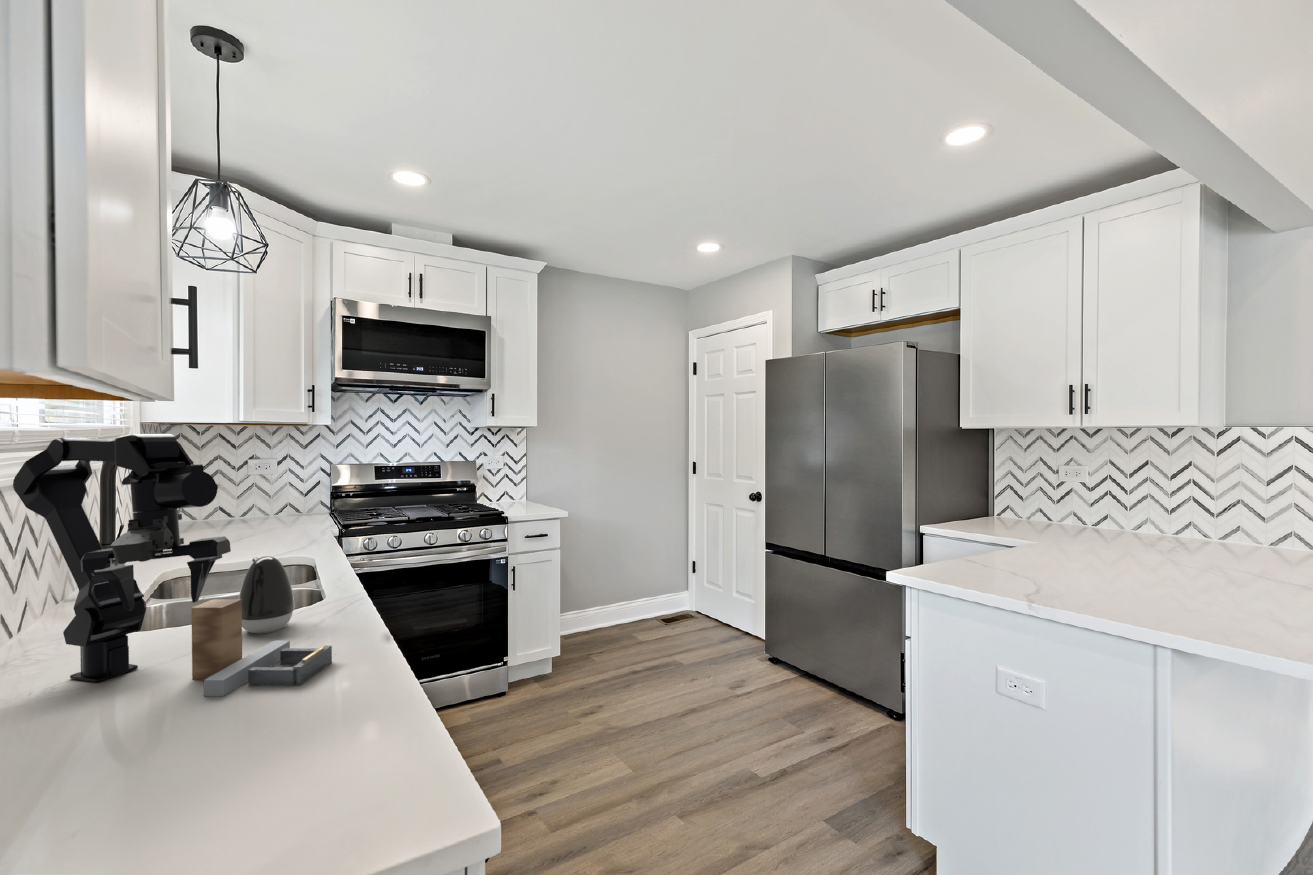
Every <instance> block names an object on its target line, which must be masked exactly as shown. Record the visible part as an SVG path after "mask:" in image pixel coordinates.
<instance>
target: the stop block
mask: <svg viewBox="0 0 1313 875" xmlns="http://www.w3.org/2000/svg"><path fill="white" fill-rule="evenodd" d="M242 658H243V627H242V599H238V598H235V599H233V598H232V599H231V598H230V599H229V598H228V599H225V598H224V599H223V598H222V599H220V598H219V599H214V598H213V599H210V600H208V601H205V602H202V603H200V604H198V605H197V604H196V605H195V606H192V607H191V671H192V672H191V676H192V681H200V680H201V681H202V680H203V681H204V680H205V679H207V678H209V677H210V676H212V675H214V674H216V673H217V672H219V671H221V670H223V669H225V668H226V667H228V666H230V665H232V664H233V663H235V662H237V661H239V660H240V659H242Z"/></svg>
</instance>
